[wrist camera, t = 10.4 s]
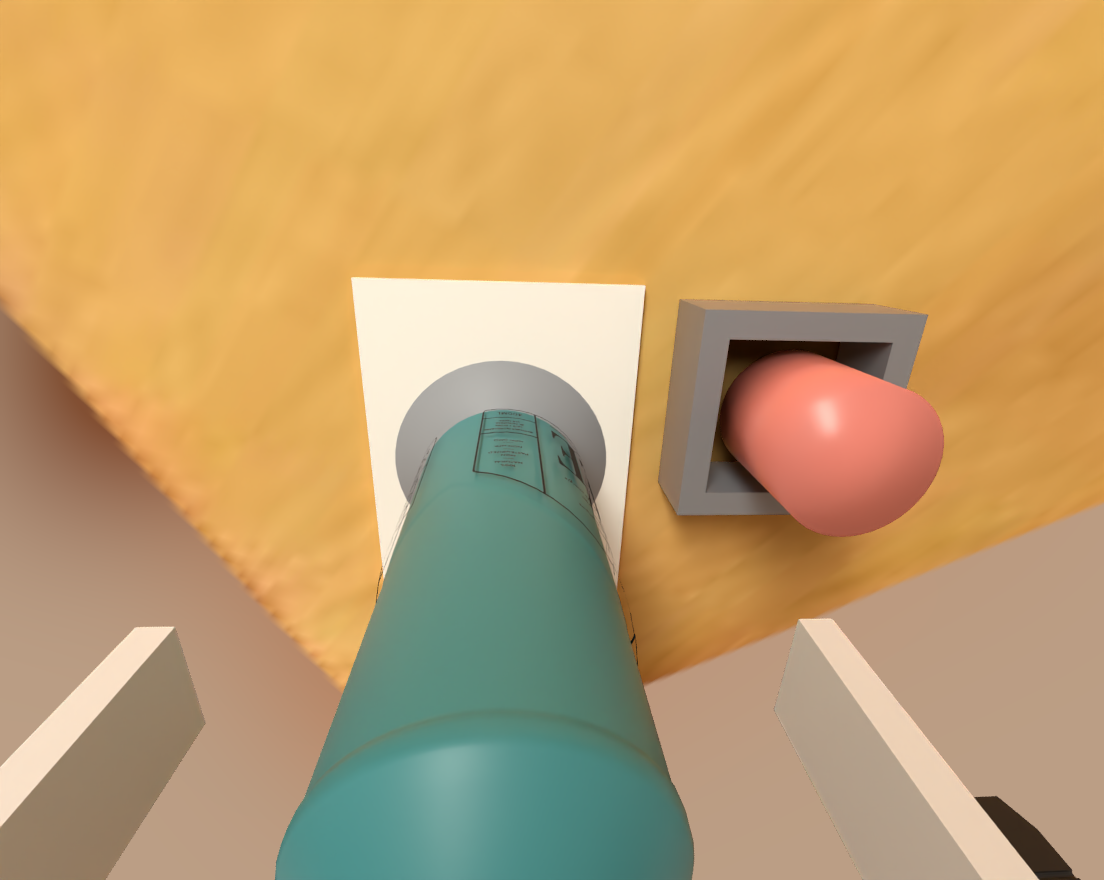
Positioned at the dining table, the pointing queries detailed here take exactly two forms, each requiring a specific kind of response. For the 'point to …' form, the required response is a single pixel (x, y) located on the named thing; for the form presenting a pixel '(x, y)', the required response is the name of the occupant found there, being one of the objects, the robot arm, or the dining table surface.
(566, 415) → the paper card
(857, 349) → the button base
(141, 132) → the dining table surface
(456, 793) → the beverage bottle
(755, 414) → the button
